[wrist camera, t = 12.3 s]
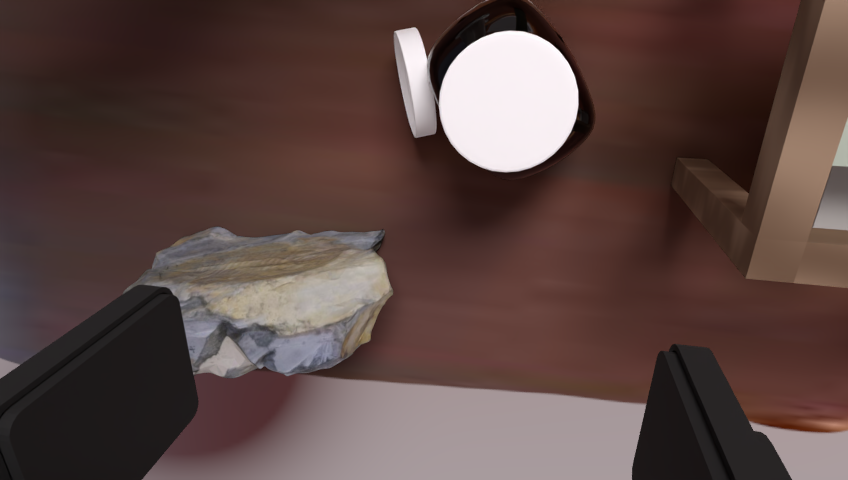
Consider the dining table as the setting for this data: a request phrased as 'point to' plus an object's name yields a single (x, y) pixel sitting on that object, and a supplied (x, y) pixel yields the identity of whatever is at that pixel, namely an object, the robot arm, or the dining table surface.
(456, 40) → the spread jar
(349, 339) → the fossil rock
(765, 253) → the trapdoor frame
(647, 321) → the dining table surface
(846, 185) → the gray cube
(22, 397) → the robot arm
